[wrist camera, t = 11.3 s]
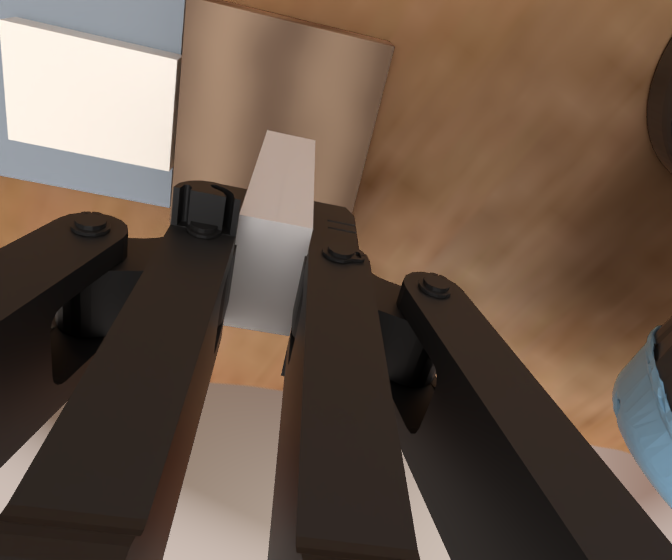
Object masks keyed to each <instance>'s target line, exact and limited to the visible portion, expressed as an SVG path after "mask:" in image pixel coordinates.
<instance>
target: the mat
mask: <svg viewBox="0 0 672 560" xmlns="http://www.w3.org/2000/svg"><path fill="white" fill-rule="evenodd" d="M185 11H186V0H0V19H4V18H11V17H19V18H24V19H28V20H32V21H37V22H41V23H45V24H50V25H54V26H59V27H63V28H67V29H72V30H76V31H80V32H85V33H89V34H93V35H98V36H102V37H107V38H111V39H115V40H120V41H124V42H128V43H133V44H137V45H141V46H146V47H150V48H154V49H159V50H163V51H168V52H172V53H176V54H181V55H182V51H183V38H184V24H185ZM173 171H174V166H173V167H172V169H171V170H170V171H164V170H159V169H154V168H149V167H144V166H139V165H134V164H129V163H124V162H119V161H114V160H109V159H104V158H99V157H94V156H89V155H84V154H79V153H74V152H69V151H64V150H59V149H54V148H49V147H44V146H39V145H34V144H29V143H24V142H19V141H14V140H9V139H8V130H7V117H6V105H5V92H4V79H3V67H2V54H1V41H0V176H5V177H11V178H16V179H21V180H26V181H32V182H37V183H42V184H47V185H53V186H58V187H63V188H68V189H73V190H79V191H84V192H89V193H94V194H100V195H105V196H110V197H115V198H121V199H126V200H131V201H136V202H142V203H147V204H152V205H157V206H163V207H168V208H170V206H171V197H172V184H173Z"/></svg>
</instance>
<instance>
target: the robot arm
mask: <svg viewBox="0 0 672 560" xmlns="http://www.w3.org/2000/svg"><path fill="white" fill-rule="evenodd" d="M647 123H648V131H649V136H650V140H651V143H652V146H653V148H654V151H655V153H656V155H657V156H658V158H659V160H660V161H661V162H662V164H663V165H664V166H665V167H666V168H667V169H668V170H669V171H670V172H671V173H672V39H671V41H670V42H669V44H668V46H667V47H666V49H665V51H664V53H663V55H662V57H661V59H660V62H659V64H658V66H657V69H656V72H655V74H654V77H653V81H652V84H651V88H650V93H649V99H648V107H647ZM314 172H315V140H311V139H306V138H302V137H297V136H292V135H288V134H283V133H278V132H274V131H269V130H267V133H266V136H265V139H264V142H263V145H262V148H261V151H260V154H259V157H258V160H257V163H256V166H255V169H254V172H253V175H252V178H251V181H250V184H249V187H248V189H244V188H239V187H234V186H229V185H223V184H219V183H215V182H210V181H202V180H193V181H185V182H180V183H178V184H177V185H175V186H174V187H173V200H172V214H171V225H170V227H169V228H168V230H167V232H166V233H165V235H164V237H160V238H147V239H140V238H128V228H127V225H126V224H125V223H124V222H122V221H121V220H119V219H117V218H115V217H112V216H109V215H104V214H102V213H99V212H92V213H91V212H81V213H76V214H69V215H66V216H63V217H60V218H58V219H56V220H54V221H52V222H50V223H48V224H46V225H44V226H42V227H40V228H39V229H37V230H35V231H33V232H31V233H29V234H27V235H25V236H23V237H21V238H19V239H17V240H16V241H14V242H12V243H10V244H8V245H6V246H4V247H2V248H0V468H1V467H2V466H3V465H4V464H5V463H6V462H7V461H8V460H9V459H10V458H11V457H12V456H13V455H14V454H15V453H16V452H17V451H18V450H19V449H20V448H21V447H22V446H23V445H24V444H25V443H26V442H27V441H28V440H29V439H30V438H31V437H32V436H33V435H34V434H35V432H37V431H38V430H39V429H40V428H41V427H42V426H43V425H44V424H45V423H46V422H47V421H48V419H50V418H51V417H52V416H53V415H54V414H55V413H56V412H57V411H58V410H59V409H60V408H61V407H62V406H63V405H64V404H65V403H66V402H67V403H66V405H65V407H64V408H63V410H62V412H61V413H60V415H59V417H58V419H57V420H56V422H55V424H54V426H53V427H52V429H51V431H50V432H49V434H48V436H47V438H46V439H45V441H44V443H43V444H42V446H41V448H40V450H39V451H38V453H37V455H36V456H35V458H34V460H33V462H32V463H31V465H30V467H29V468H28V470H27V472H26V473H25V475H24V477H23V479H22V480H21V482H20V484H19V485H18V487H17V489H16V491H15V492H14V494H13V496H12V497H11V499H10V501H9V503H8V504H7V506H6V507H5V508H4V510H3V511H2V513H1V514H0V560H163V556H164V552H165V548H166V544H167V541H168V537H169V533H170V529H171V525H172V521H173V518H174V514H175V510H176V507H177V503H178V499H179V495H180V492H181V488H182V484H183V480H184V476H185V473H186V469H187V465H188V462H189V457H190V454H191V450H192V446H193V443H194V439H195V435H196V431H197V428H198V424H199V420H200V416H201V412H202V409H203V405H204V401H205V397H206V394H207V390H208V386H209V382H210V378H211V375H212V371H213V367H214V363H215V360H216V356H217V352H218V348H219V344H220V341H221V336H222V329H223V325H225V326H231V327H237V328H243V329H249V330H255V331H261V332H267V333H273V334H280V335H286V336H289V335H290V338H289V342H288V347H287V351H286V356H285V360H284V365H283V369H282V374H281V376H284V387H283V398H282V409H281V420H280V431H279V443H278V454H277V464H276V475H275V486H274V496H273V508H272V518H271V529H270V541H269V551H268V560H420V557H419V553H418V549H417V543H416V537H415V531H414V525H413V519H412V513H411V507H410V501H409V495H408V489H407V482H406V477H405V470H404V464H403V458H402V452H403V455H404V457H405V459H406V461H407V463H408V466H409V468H410V470H411V472H412V474H413V477H414V479H415V481H416V483H417V485H418V488H419V490H420V492H421V494H422V497H423V499H424V501H425V503H426V505H427V508H428V510H429V512H430V514H431V517H432V519H433V521H434V523H435V525H436V528H437V530H438V532H439V534H440V536H441V539H442V541H443V543H444V545H445V548H446V550H447V552H448V554H449V556H450V559H451V560H672V544H671V543H670V541H669V540H668V539H667V538H666V536H665V535H664V534H663V533H662V532H661V530H660V529H659V528H658V527H657V526H656V524H655V523H654V522H653V521H652V520H651V518H650V517H649V516H648V515H647V513H646V512H645V511H644V510H643V509H642V507H641V506H640V505H639V504H638V503H637V501H636V500H635V499H634V498H633V497H632V495H631V494H630V493H629V492H628V491H627V489H626V488H625V487H624V486H623V484H622V483H621V482H620V481H619V479H618V478H617V477H616V476H615V475H614V474H613V472H612V471H611V470H610V469H609V467H608V466H607V465H606V464H605V462H604V461H603V460H602V459H601V458H600V456H599V455H598V454H597V453H596V452H595V450H594V449H593V448H592V447H591V445H590V444H589V443H588V442H587V441H586V439H585V438H584V437H583V436H582V435H581V433H580V432H579V431H578V430H577V428H576V427H575V426H574V425H573V424H572V422H571V421H570V420H569V419H568V418H567V416H566V415H565V414H564V413H563V411H562V410H561V409H560V408H559V407H558V405H557V404H556V403H555V402H554V401H553V399H552V398H551V397H550V396H549V395H548V393H547V392H546V391H545V390H544V388H543V387H542V386H541V385H540V384H539V382H538V381H537V380H536V379H535V378H534V376H533V375H532V374H531V373H530V371H529V370H528V369H527V368H526V367H525V365H524V364H523V363H522V362H521V361H520V359H519V358H518V357H517V356H516V354H515V353H514V352H513V351H512V350H511V348H510V347H509V346H508V345H507V344H506V342H505V341H504V340H503V339H502V337H501V336H500V335H499V334H498V333H497V331H496V330H495V329H494V328H493V327H492V325H491V324H490V323H489V322H488V320H487V319H486V318H485V317H484V316H483V314H482V313H481V312H480V311H479V310H478V308H477V307H476V306H475V305H474V303H473V302H472V301H471V300H470V299H469V297H468V296H467V295H466V294H465V293H464V291H463V290H462V289H461V288H460V287H458V286H457V285H456V284H455V283H453V282H452V281H450V280H448V279H447V278H446V277H444V276H441V275H439V276H438V274H435V273H426V272H412V273H410V274H408V275H406V276H405V278H404V280H403V283H402V286H400V285H397V284H394V283H391V282H389V281H386V280H384V279H381V278H379V277H377V276H376V275H374V274H372V272H371V266H370V261H369V259H368V257H367V255H365V254H364V253H363V252H362V251H360V250H359V246H358V239H357V234H356V227H355V218H354V216H353V215H352V213H351V212H350V211H349V210H348V209H347V208H346V207H342V206H337V205H332V204H327V203H321V202H316V201H314ZM223 322H224V324H223ZM291 326H292V327H291ZM290 331H291V333H290ZM435 374H436V375H437V378H436V376H435ZM612 401H613V409H614V412H615V415H616V417H617V423H618V427H619V430H620V432H621V434H622V437H623V439H624V441H625V443H626V445H627V447H628V449H629V450H630V452H631V454H632V456H633V457H634V459H635V461H636V462H637V464H638V465H639V467H640V468H641V470H642V471H643V473H644V474H645V476H646V477H647V479H648V480H649V481H650V483H651V484H652V485H653V487H654V488H655V489H656V490H657V492H658V493H659V494H660V495H661V497H662V498H663V499H664V500H665V502H666V503H667V504H668V505H669V506H670V507H671V509H672V316H671V317H670V318H669V319H668V320H667V321H666V322H665V323H664V324H663V325H658V326H656V327H655V328H654V329H653V330H652V331H651V332H650V334H649V335H648V337H647V342H646V344H645V345H644V346H643V347H642V348H641V349H640V350H639V352H638V353H637V354H636V355H635V356H634V357H633V358H632V360H631V361H630V362H629V363H628V364H627V365H626V366H625V367H624V369H623V370H622V371H621V372H620V374H619V375H618V377H617V379H616V381H615V384H614V388H613V395H612ZM401 450H402V452H401Z"/></svg>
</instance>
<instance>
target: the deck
mask: <svg viewBox="0 0 672 560" xmlns="http://www.w3.org/2000/svg"><path fill="white" fill-rule="evenodd" d="M394 48H395V47H394V46H393V45H392V44H391V43H390V42H389V41H387V40H382V39H378V38H374V37H370V36H366V35H362V34H358V33H354V32H350V31H346V30H341V29H337V28H333V27H329V26H325V25H321V24H317V23H313V22H309V21H304V20H300V19H296V18H292V17H288V16H284V15H280V14H276V13H272V12H268V11H263V10H259V9H255V8H251V7H247V6H243V5H239V4H235V3H231V2H227V1H222V0H186V11H185V24H184V38H183V51H182V64H181V77H180V91H179V104H178V117H177V131H176V144H175V157H174V171H173V184H172V197H171V211H170V224H171V214H172V200H173V187H174V186H175V185H177V184H178V183H180V182H185V181H193V180H202V181H210V182H215V183H219V184H223V185H229V186H234V187H239V188H244V189H248V187H249V184H250V181H251V178H252V175H253V172H254V169H255V166H256V163H257V160H258V157H259V154H260V151H261V148H262V145H263V142H264V139H265V136H266V133H267V130H269V131H274V132H278V133H283V134H288V135H292V136H297V137H302V138H306V139H311V140H315V172H314V201H316V202H321V203H327V204H332V205H337V206H342V207H346V208H347V209H348V210H349V211H350V212H351V213H352V212H353V208H354V204H355V200H356V196H357V192H358V189H359V185H360V181H361V177H362V173H363V169H364V165H365V161H366V157H367V153H368V149H369V146H370V142H371V138H372V134H373V130H374V126H375V122H376V118H377V114H378V110H379V106H380V103H381V99H382V95H383V91H384V87H385V83H386V79H387V75H388V71H389V67H390V64H391V60H392V56H393V52H394Z"/></svg>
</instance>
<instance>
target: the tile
mask: <svg viewBox="0 0 672 560" xmlns="http://www.w3.org/2000/svg"><path fill="white" fill-rule="evenodd" d="M0 41H1V54H2V67H3V79H4V92H5V105H6V117H7V130H8V139H9V140H14V141H19V142H24V143H29V144H34V145H39V146H44V147H49V148H54V149H59V150H64V151H69V152H74V153H79V154H84V155H89V156H94V157H99V158H104V159H109V160H114V161H119V162H124V163H129V164H134V165H139V166H144V167H149V168H154V169H159V170H164V171H170V170H171V169H172V167H173V166H174V157H175V144H176V131H177V117H178V104H179V91H180V77H181V64H182V55H181V54H176V53H172V52H168V51H163V50H159V49H154V48H150V47H146V46H141V45H137V44H133V43H128V42H124V41H120V40H115V39H111V38H107V37H102V36H98V35H93V34H89V33H85V32H80V31H76V30H72V29H67V28H63V27H59V26H54V25H50V24H45V23H41V22H37V21H32V20H28V19H24V18H19V17H11V18H4V19H0Z"/></svg>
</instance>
